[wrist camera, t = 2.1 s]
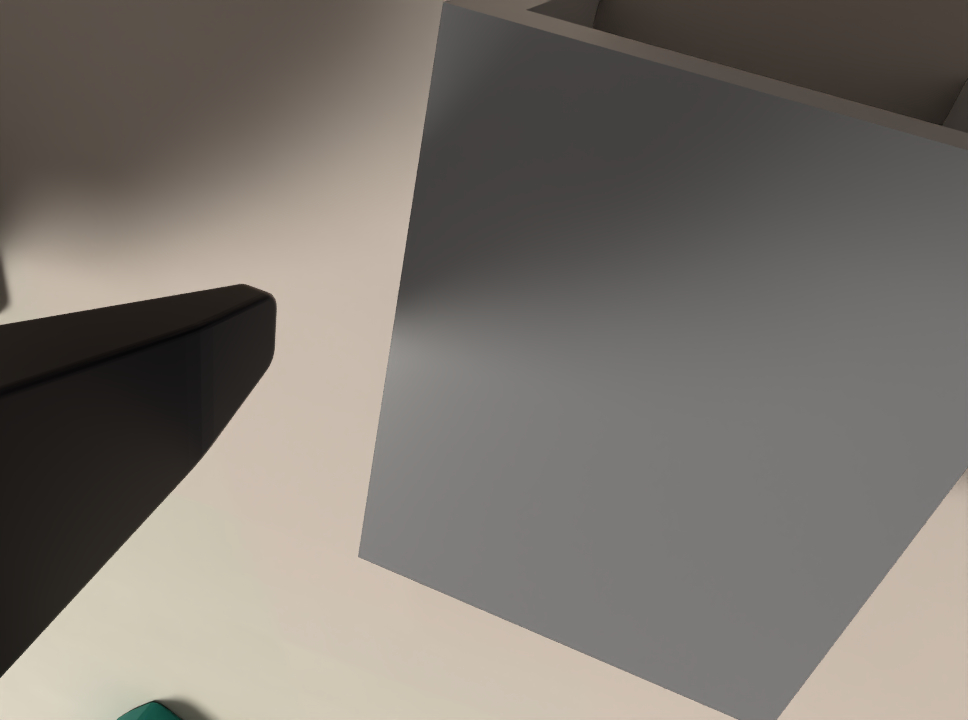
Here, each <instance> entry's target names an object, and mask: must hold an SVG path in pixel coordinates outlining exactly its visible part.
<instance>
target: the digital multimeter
mask: <svg viewBox="0 0 968 720" xmlns="http://www.w3.org/2000/svg"><path fill="white" fill-rule="evenodd" d="M117 720H181V719H180V718H179V717H178V716H176V715H175V714H174V713H172V712H171V711H170V710H168V709H167V708H166V707H164V706H163V705H161V704H159V703H156V702H151V703H148V704H146V705H143V706H141V707H138V708H136V709H133V710H131V711H129V712H128V713H126V714H124V715H123V716H121V717H119V718H118V719H117Z"/></svg>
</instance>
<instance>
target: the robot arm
mask: <svg viewBox="0 0 968 720" xmlns="http://www.w3.org/2000/svg"><path fill="white" fill-rule="evenodd" d="M276 312H277V305H276V300H275V298H274V297H273V295H272V294H270V293H268V292H265V291H263V290H260V289H257V288H255V287H252V286H249V285H246V284H238V285H232V286H226V287H220V288H214V289H209V290H203V291H197V292H191V293H185V294H179V295H174V296H168V297H162V298H156V299H150V300H144V301H138V302H133V303H127V304H121V305H115V306H109V307H103V308H97V309H92V310H86V311H80V312H74V313H68V314H62V315H56V316H51V317H45V318H39V319H33V320H27V321H21V322H15V323H10V324H4V325H0V678H1V677H2V675H3V674H4V673H5V672H6V671H7V670H8V669H9V668H10V667H11V666H12V665H13V664H14V662H15V661H16V660H17V659H18V658H19V657H20V656H21V655H22V654H23V653H24V652H25V651H26V649H27V648H28V647H29V646H30V645H31V644H32V643H33V642H34V641H35V640H36V639H37V637H38V636H39V635H40V634H41V633H42V632H43V631H44V630H45V629H46V628H47V627H48V626H49V624H50V623H51V622H52V621H53V620H54V619H55V618H56V617H57V616H58V615H59V614H60V612H61V611H62V610H63V609H64V608H65V607H66V606H67V605H68V604H69V603H70V602H71V601H72V599H73V598H74V597H75V596H76V595H77V594H78V593H79V592H80V591H81V590H82V589H83V587H84V586H85V585H86V584H87V583H88V582H89V581H90V580H91V579H92V578H93V577H94V576H95V574H96V573H97V572H98V571H99V570H100V569H101V568H102V567H103V566H104V565H105V564H106V563H107V561H108V560H109V559H110V558H111V557H112V556H113V555H114V554H115V553H116V552H117V551H118V549H119V548H120V547H121V546H122V545H123V544H124V543H125V542H126V541H127V540H128V539H129V538H130V536H131V535H132V534H133V533H134V532H135V531H136V530H137V529H138V528H139V527H140V526H141V524H142V523H143V522H144V521H145V520H146V519H147V518H148V517H149V516H150V515H151V514H152V513H153V511H154V510H155V509H156V508H157V507H158V506H159V505H160V504H161V503H162V502H163V501H164V499H165V498H166V497H167V496H168V495H169V494H170V493H171V492H172V491H173V490H174V489H175V488H176V486H177V485H178V484H179V483H180V482H181V481H182V480H183V479H184V478H185V477H186V476H187V475H188V473H189V472H190V471H191V470H192V469H193V468H194V467H195V465H196V464H197V463H198V462H199V461H200V460H201V459H202V457H203V456H204V455H205V454H206V452H207V451H208V450H209V449H210V447H211V446H212V445H213V443H214V442H215V441H216V439H217V438H218V437H219V435H220V434H221V432H222V431H223V430H224V428H225V427H226V426H227V424H228V423H229V421H230V420H231V419H232V417H233V416H234V415H235V413H236V412H237V410H238V409H239V408H240V406H241V405H242V404H243V402H244V401H245V400H246V398H247V397H248V395H249V394H250V393H251V391H252V390H253V389H254V387H255V386H256V384H257V383H258V382H259V380H260V379H261V378H262V376H263V375H264V373H265V372H266V371H267V369H268V368H269V366H270V364H271V361H272V359H273V355H274V350H275V332H276Z"/></svg>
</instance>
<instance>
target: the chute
mask: <svg viewBox="0 0 968 720" xmlns="http://www.w3.org/2000/svg"><path fill="white" fill-rule="evenodd" d="M598 4H599V0H449V1H445V2H443V7H442V13H441V20H440V26H439V33H438V39H437V46H436V52H435V59H434V65H433V72H432V78H431V85H430V91H429V98H428V104H427V111H426V117H425V124H424V130H423V137H422V143H421V150H420V157H419V163H418V170H417V176H416V183H415V189H414V196H413V202H412V209H411V215H410V222H409V228H408V235H407V241H406V248H405V254H404V261H403V267H402V274H401V280H400V287H399V293H398V300H397V306H396V313H395V320H394V326H393V333H392V339H391V346H390V352H389V359H388V365H387V372H386V378H385V385H384V391H383V398H382V404H381V411H380V417H379V424H378V430H377V437H376V443H375V450H374V456H373V463H372V469H371V476H370V482H369V489H368V496H367V502H366V509H365V515H364V522H363V528H362V535H361V541H360V548H359V554H358V557H360V558H362V559H364V560H367V561H369V562H371V563H374V564H376V565H378V566H381V567H383V568H385V569H388V570H390V571H392V572H395V573H397V574H399V575H402V576H404V577H406V578H409V579H411V580H413V581H416V582H418V583H420V584H423V585H425V586H427V587H430V588H432V589H434V590H437V591H439V592H441V593H444V594H446V595H448V596H451V597H453V598H455V599H458V600H460V601H462V602H465V603H467V604H470V605H472V606H474V607H477V608H479V609H481V610H484V611H486V612H488V613H491V614H493V615H495V616H498V617H500V618H502V619H505V620H507V621H509V622H512V623H514V624H516V625H519V626H521V627H523V628H526V629H528V630H530V631H533V632H535V633H537V634H540V635H542V636H544V637H547V638H549V639H551V640H554V641H556V642H558V643H561V644H563V645H565V646H568V647H570V648H572V649H575V650H577V651H579V652H582V653H584V654H586V655H589V656H591V657H593V658H596V659H598V660H600V661H603V662H605V663H607V664H610V665H612V666H614V667H617V668H619V669H621V670H624V671H626V672H628V673H631V674H633V675H635V676H638V677H640V678H642V679H645V680H647V681H649V682H652V683H654V684H656V685H659V686H661V687H663V688H666V689H668V690H670V691H673V692H675V693H677V694H680V695H682V696H684V697H687V698H689V699H692V700H694V701H696V702H699V703H701V704H703V705H706V706H708V707H710V708H713V709H715V710H717V711H720V712H722V713H724V714H727V715H729V716H731V717H734V718H736V719H738V720H777V718H778V717H779V716H780V715H781V713H782V712H783V711H784V709H785V708H786V707H787V705H788V704H789V703H790V701H791V700H792V699H793V697H794V696H795V695H796V693H797V692H798V691H799V689H800V688H801V687H802V685H803V684H804V683H805V681H806V680H807V679H808V678H809V676H810V675H811V674H812V672H813V671H814V670H815V668H816V667H817V666H818V664H819V663H820V662H821V660H822V659H823V658H824V656H825V655H826V654H827V652H828V651H829V650H830V648H831V647H832V646H833V645H834V643H835V642H836V641H837V639H838V638H839V637H840V635H841V634H842V633H843V631H844V630H845V629H846V627H847V626H848V625H849V623H850V622H851V621H852V619H853V618H854V617H855V615H856V614H857V613H858V612H859V610H860V609H861V608H862V606H863V605H864V604H865V602H866V601H867V600H868V598H869V597H870V596H871V594H872V593H873V592H874V590H875V589H876V588H877V586H878V585H879V584H880V582H881V581H882V580H883V578H884V577H885V576H886V575H887V573H888V572H889V571H890V569H891V568H892V567H893V565H894V564H895V563H896V561H897V560H898V559H899V557H900V556H901V555H902V553H903V552H904V551H905V549H906V548H907V547H908V545H909V544H910V543H911V542H912V540H913V539H914V538H915V536H916V535H917V534H918V532H919V531H920V530H921V528H922V527H923V526H924V524H925V523H926V522H927V520H928V519H929V518H930V516H931V515H932V514H933V512H934V511H935V510H936V508H937V507H938V506H939V505H940V503H941V502H942V501H943V499H944V498H945V497H946V495H947V494H948V493H949V491H950V490H951V489H952V487H953V486H954V485H955V483H956V482H957V481H958V479H959V478H960V477H961V475H962V474H963V473H964V472H965V470H966V469H967V468H968V79H967V81H966V83H965V85H964V86H963V88H962V90H961V92H960V94H959V96H958V97H957V99H956V101H955V103H954V105H953V107H952V108H951V110H950V112H949V114H948V116H947V118H946V119H945V121H944V123H943V125H942V126H940V125H937V124H933V123H930V122H926V121H922V120H919V119H915V118H912V117H908V116H904V115H901V114H897V113H894V112H890V111H887V110H883V109H879V108H876V107H872V106H869V105H865V104H861V103H858V102H854V101H851V100H847V99H843V98H840V97H836V96H833V95H829V94H826V93H822V92H818V91H815V90H811V89H808V88H804V87H800V86H797V85H793V84H790V83H786V82H782V81H779V80H775V79H772V78H768V77H765V76H761V75H757V74H754V73H750V72H747V71H743V70H739V69H736V68H732V67H729V66H725V65H721V64H718V63H714V62H711V61H707V60H704V59H700V58H696V57H693V56H689V55H686V54H682V53H678V52H675V51H671V50H668V49H664V48H660V47H657V46H653V45H650V44H646V43H643V42H639V41H635V40H632V39H628V38H625V37H621V36H617V35H614V34H610V33H607V32H603V31H599V30H596V29H592V27H593V23H594V19H595V15H596V11H597V7H598Z"/></svg>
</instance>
